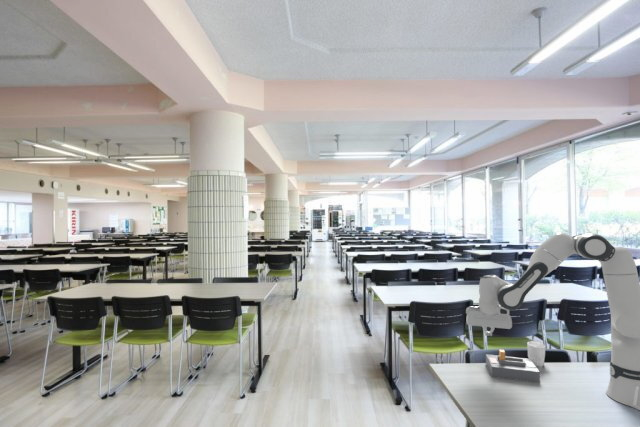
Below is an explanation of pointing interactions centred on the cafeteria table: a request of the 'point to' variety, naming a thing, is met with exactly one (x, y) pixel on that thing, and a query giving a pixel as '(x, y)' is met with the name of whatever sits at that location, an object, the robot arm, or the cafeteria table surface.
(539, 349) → the white cup
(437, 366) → the cafeteria table surface
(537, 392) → the cafeteria table surface
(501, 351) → the breaker toggle
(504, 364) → the breaker box
